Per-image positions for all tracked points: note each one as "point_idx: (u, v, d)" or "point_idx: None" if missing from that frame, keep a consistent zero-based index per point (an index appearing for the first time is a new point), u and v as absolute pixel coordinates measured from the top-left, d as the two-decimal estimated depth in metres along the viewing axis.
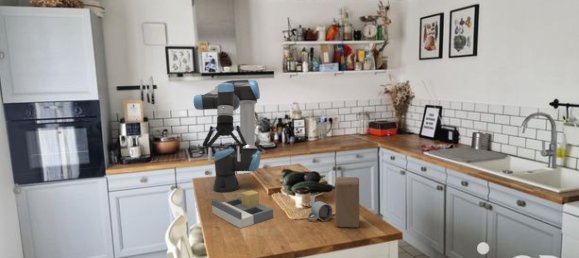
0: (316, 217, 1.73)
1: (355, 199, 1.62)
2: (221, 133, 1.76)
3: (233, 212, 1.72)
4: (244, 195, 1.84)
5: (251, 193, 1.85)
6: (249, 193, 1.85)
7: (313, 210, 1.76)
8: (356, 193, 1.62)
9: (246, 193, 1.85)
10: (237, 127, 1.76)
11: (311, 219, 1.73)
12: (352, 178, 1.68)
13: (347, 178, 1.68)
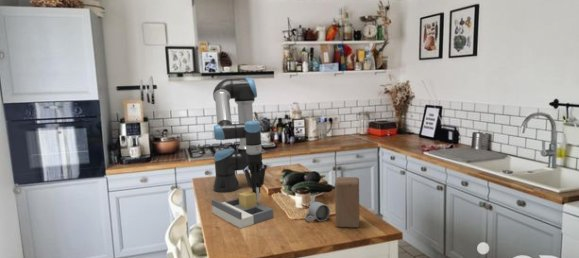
0: (313, 218, 1.72)
1: (355, 199, 1.62)
2: None
3: (233, 212, 1.72)
4: (242, 196, 1.83)
5: (249, 194, 1.84)
6: (247, 194, 1.84)
7: (310, 211, 1.75)
8: (356, 193, 1.62)
9: (244, 194, 1.84)
10: (265, 167, 1.89)
11: (308, 220, 1.72)
12: (352, 178, 1.68)
13: (347, 178, 1.68)
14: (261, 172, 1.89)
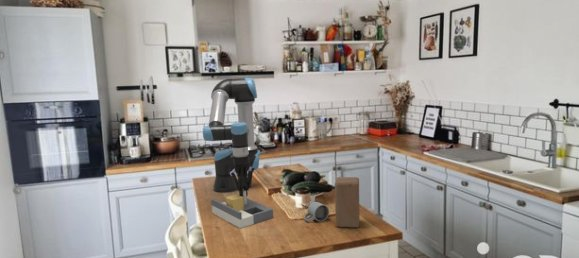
0: (312, 218, 1.72)
1: (355, 199, 1.62)
2: None
3: (233, 212, 1.72)
4: (228, 200, 1.79)
5: (236, 197, 1.79)
6: (234, 198, 1.79)
7: (310, 211, 1.75)
8: (356, 193, 1.62)
9: (231, 197, 1.79)
10: (252, 169, 1.84)
11: (307, 220, 1.72)
12: (352, 178, 1.68)
13: (347, 178, 1.68)
14: (248, 175, 1.85)
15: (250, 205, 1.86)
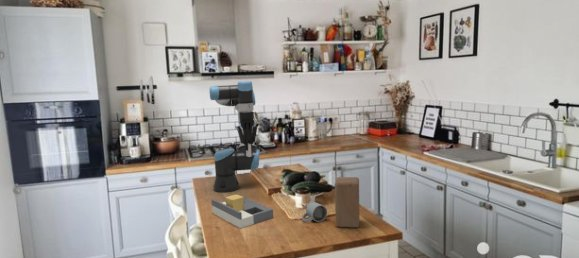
0: (311, 218, 1.71)
1: (355, 199, 1.62)
2: None
3: (233, 212, 1.72)
4: (228, 200, 1.79)
5: (236, 197, 1.79)
6: (234, 198, 1.79)
7: (308, 211, 1.75)
8: (356, 193, 1.62)
9: (231, 197, 1.79)
10: (257, 125, 2.01)
11: (305, 220, 1.72)
12: (352, 178, 1.68)
13: (347, 178, 1.68)
14: (253, 130, 2.01)
15: (250, 205, 1.86)
